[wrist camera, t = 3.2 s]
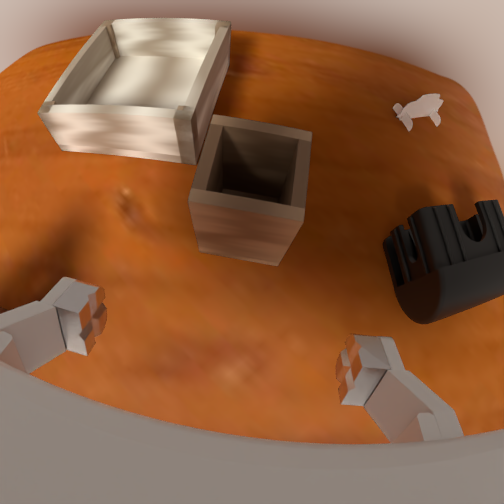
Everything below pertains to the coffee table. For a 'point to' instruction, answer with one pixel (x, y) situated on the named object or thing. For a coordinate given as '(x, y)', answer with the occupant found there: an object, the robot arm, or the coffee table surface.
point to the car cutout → (419, 110)
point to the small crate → (250, 189)
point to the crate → (141, 89)
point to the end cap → (447, 261)
